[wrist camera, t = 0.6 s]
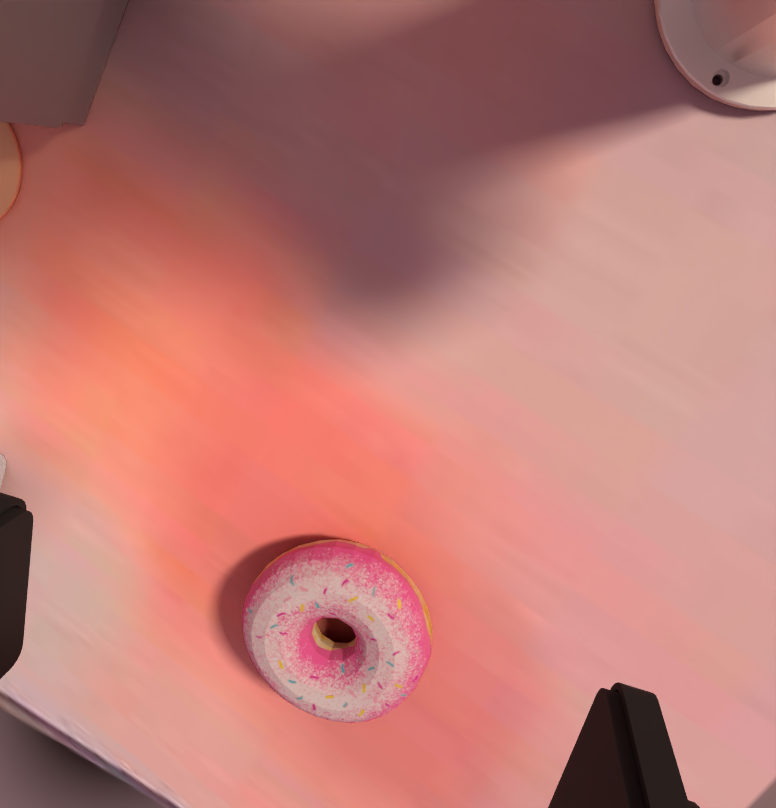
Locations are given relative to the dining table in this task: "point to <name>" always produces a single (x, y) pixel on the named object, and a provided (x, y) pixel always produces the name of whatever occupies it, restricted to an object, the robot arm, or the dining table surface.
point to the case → (53, 58)
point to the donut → (354, 605)
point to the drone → (2, 468)
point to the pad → (9, 168)
